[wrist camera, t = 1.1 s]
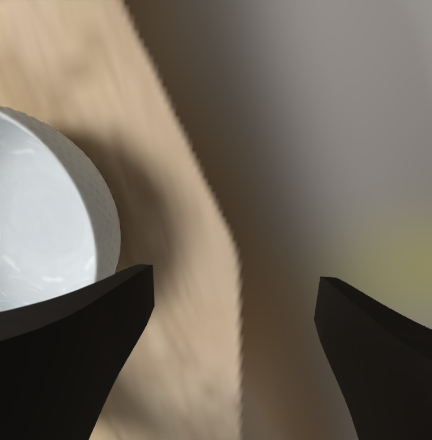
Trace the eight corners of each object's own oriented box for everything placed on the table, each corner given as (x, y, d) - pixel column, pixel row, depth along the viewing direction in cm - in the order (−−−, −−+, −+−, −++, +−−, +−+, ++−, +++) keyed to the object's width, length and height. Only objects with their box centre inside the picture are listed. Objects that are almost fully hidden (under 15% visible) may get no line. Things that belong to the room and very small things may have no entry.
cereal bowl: (-32, 89, 20) (-172, 56, 13) (162, 146, 20) (119, 142, 13) (-31, 269, 25) (-134, 312, 18) (126, 319, 24) (80, 383, 18)
